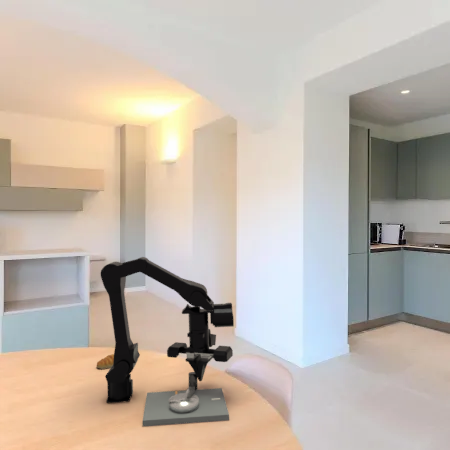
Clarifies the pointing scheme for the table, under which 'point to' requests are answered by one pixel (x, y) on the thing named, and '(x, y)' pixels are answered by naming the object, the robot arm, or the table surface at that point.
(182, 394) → the silver handled piece
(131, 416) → the table surface
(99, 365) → the pastry
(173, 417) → the base plate
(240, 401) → the table surface
